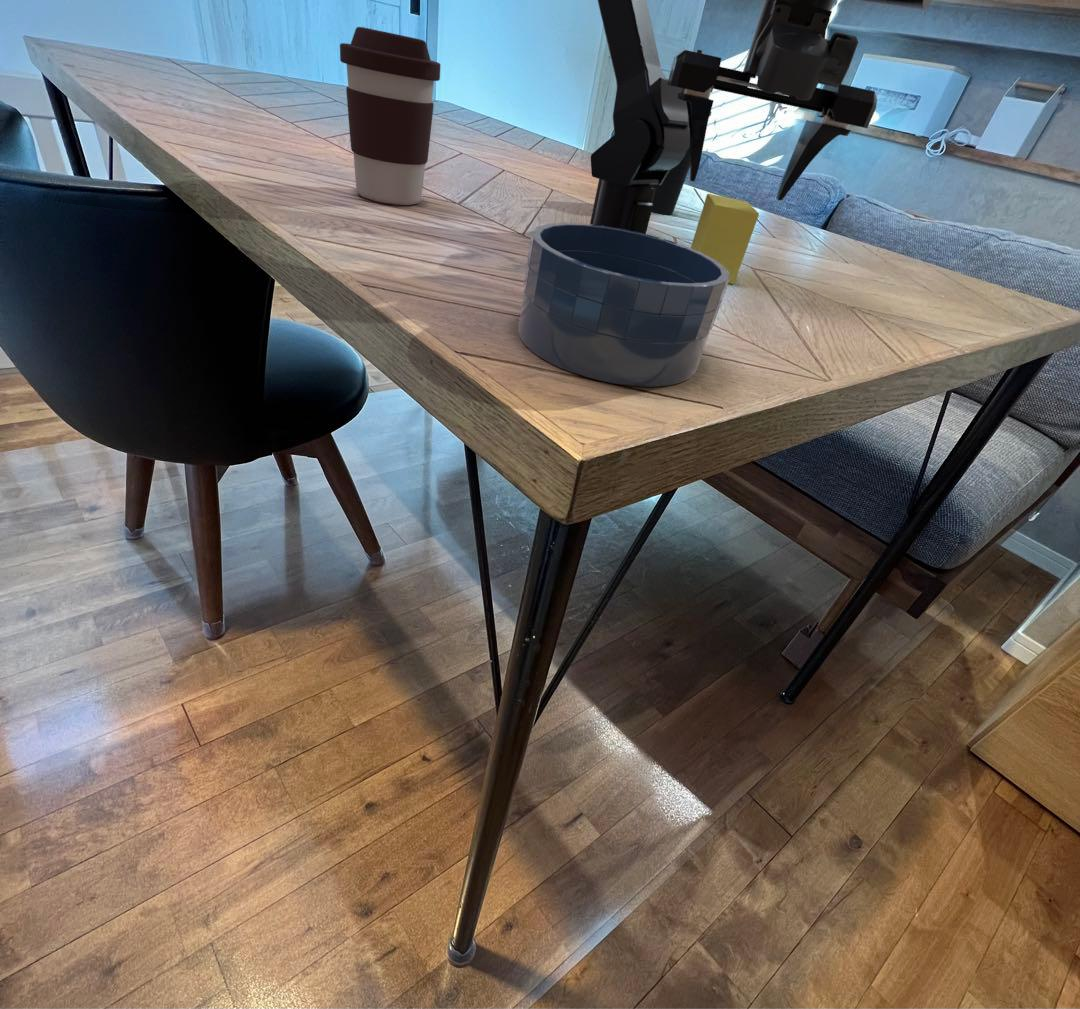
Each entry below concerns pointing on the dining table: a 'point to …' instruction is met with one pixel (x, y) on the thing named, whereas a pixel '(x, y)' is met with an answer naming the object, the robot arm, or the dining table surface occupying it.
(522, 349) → the dining table surface
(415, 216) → the dining table surface
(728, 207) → the sponge
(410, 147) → the coffee cup
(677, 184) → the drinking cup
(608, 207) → the robot arm
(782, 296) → the dining table surface
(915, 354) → the dining table surface
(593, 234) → the bowl
